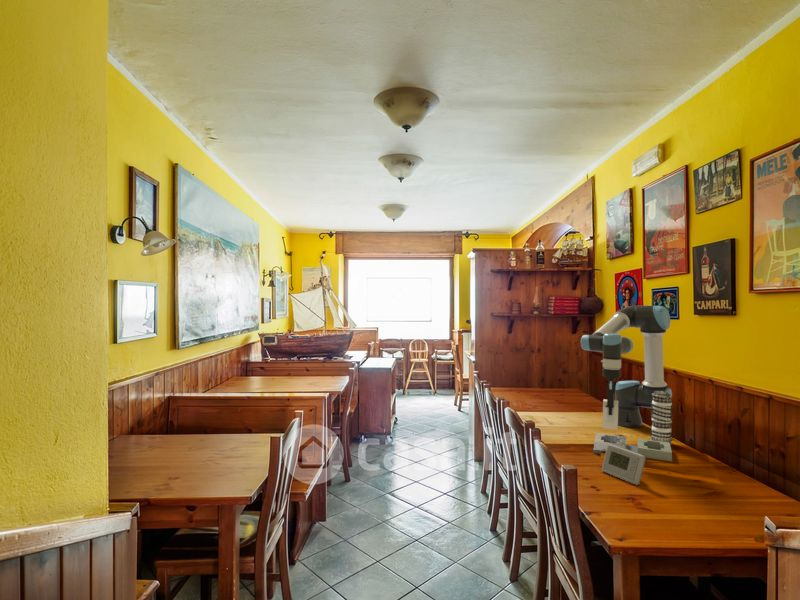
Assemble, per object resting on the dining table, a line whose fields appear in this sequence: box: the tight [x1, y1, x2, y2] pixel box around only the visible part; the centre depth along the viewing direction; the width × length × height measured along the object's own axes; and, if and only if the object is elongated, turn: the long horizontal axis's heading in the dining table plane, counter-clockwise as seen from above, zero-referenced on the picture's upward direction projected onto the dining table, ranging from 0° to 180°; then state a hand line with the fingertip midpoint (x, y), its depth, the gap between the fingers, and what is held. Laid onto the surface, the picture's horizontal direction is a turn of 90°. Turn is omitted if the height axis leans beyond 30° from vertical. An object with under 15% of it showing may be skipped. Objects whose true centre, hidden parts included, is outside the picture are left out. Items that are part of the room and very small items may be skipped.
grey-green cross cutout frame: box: [637, 438, 673, 462], centre depth 198 cm, size 12×15×4 cm
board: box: [592, 443, 673, 462], centre depth 202 cm, size 30×16×2 cm, turn 63°
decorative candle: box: [650, 391, 674, 446], centre depth 214 cm, size 9×9×25 cm
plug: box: [602, 398, 619, 431], centre depth 206 cm, size 6×4×15 cm
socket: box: [593, 432, 627, 452], centre depth 206 cm, size 12×15×4 cm
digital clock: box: [601, 444, 647, 486], centre depth 175 cm, size 16×9×11 cm, turn 14°
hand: (610, 420), depth 206 cm, fingers closed on plug, 4 cm apart
